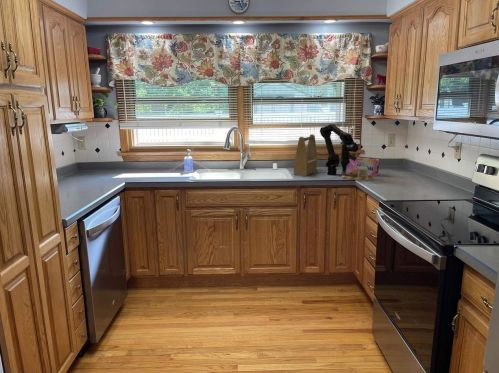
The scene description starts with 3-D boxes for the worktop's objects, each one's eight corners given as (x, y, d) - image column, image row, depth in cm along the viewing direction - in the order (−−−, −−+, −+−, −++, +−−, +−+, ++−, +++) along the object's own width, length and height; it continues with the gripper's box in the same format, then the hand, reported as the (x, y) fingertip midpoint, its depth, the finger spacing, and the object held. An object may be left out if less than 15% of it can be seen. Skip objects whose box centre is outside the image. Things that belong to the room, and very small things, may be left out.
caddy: (306, 176, 288) (308, 136, 282) (293, 174, 293) (294, 136, 287) (316, 170, 314) (318, 134, 308) (304, 169, 319) (306, 134, 312)
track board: (342, 178, 279) (342, 176, 279) (341, 175, 291) (342, 174, 290) (373, 180, 275) (373, 178, 274) (371, 177, 286) (371, 175, 286)
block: (352, 175, 281) (352, 169, 280) (352, 174, 285) (352, 168, 284) (357, 175, 280) (358, 170, 279) (357, 174, 284) (357, 169, 283)
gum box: (380, 175, 295) (381, 158, 292) (375, 176, 289) (377, 159, 286) (352, 171, 311) (353, 155, 308) (347, 172, 305) (348, 156, 302)
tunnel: (357, 177, 277) (358, 168, 275) (356, 174, 288) (357, 166, 287) (367, 178, 275) (368, 169, 274) (366, 175, 287) (366, 166, 285)
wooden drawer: (342, 175, 281) (342, 165, 279) (341, 174, 288) (342, 163, 287) (360, 176, 278) (360, 165, 276) (359, 174, 286) (360, 164, 284)
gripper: (357, 152, 270) (356, 173, 273) (355, 149, 288) (354, 169, 291) (341, 151, 272) (340, 173, 275) (340, 149, 290) (339, 169, 293)
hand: (344, 171), depth 284 cm, fingers closed on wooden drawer, 3 cm apart
